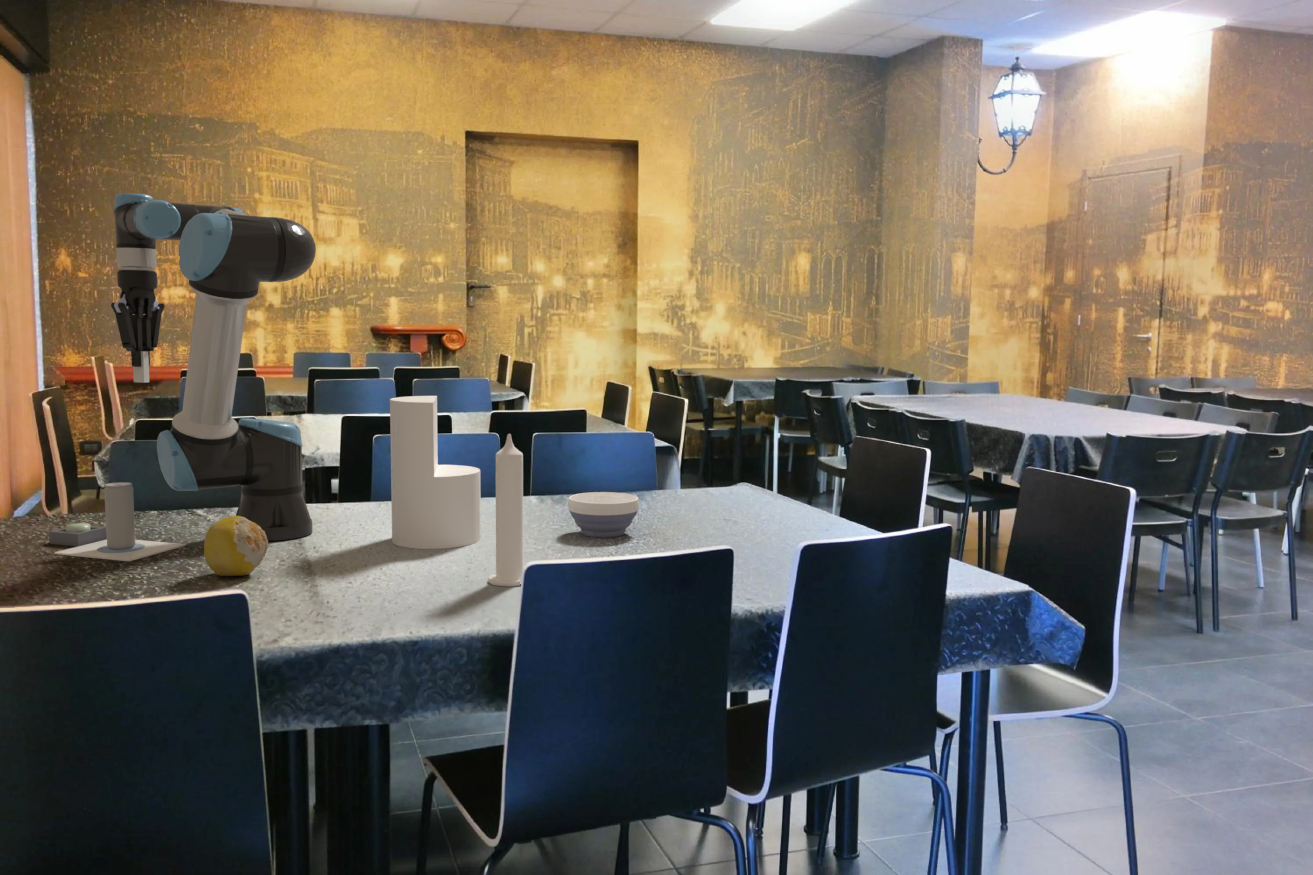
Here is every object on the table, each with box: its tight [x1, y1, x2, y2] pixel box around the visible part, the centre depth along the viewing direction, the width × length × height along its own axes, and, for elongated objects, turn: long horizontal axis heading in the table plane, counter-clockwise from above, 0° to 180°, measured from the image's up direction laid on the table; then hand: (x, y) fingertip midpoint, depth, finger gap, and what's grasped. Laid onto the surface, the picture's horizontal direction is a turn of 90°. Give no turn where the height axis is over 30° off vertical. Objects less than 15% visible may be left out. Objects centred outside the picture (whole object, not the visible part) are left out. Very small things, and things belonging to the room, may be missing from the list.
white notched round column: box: [389, 395, 482, 550], centre depth 213 cm, size 17×17×28 cm
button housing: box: [48, 525, 107, 547], centre depth 208 cm, size 7×7×2 cm
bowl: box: [567, 491, 640, 539], centre depth 221 cm, size 14×14×8 cm
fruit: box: [203, 515, 269, 577], centre depth 183 cm, size 10×11×10 cm
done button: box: [65, 522, 91, 533], centre depth 208 cm, size 4×4×2 cm
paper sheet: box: [53, 539, 186, 562], centre depth 202 cm, size 17×14×1 cm
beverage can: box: [103, 481, 136, 550], centre depth 201 cm, size 5×5×12 cm
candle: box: [487, 433, 524, 587], centre depth 180 cm, size 7×7×25 cm
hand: (141, 382), depth 228 cm, fingers closed
